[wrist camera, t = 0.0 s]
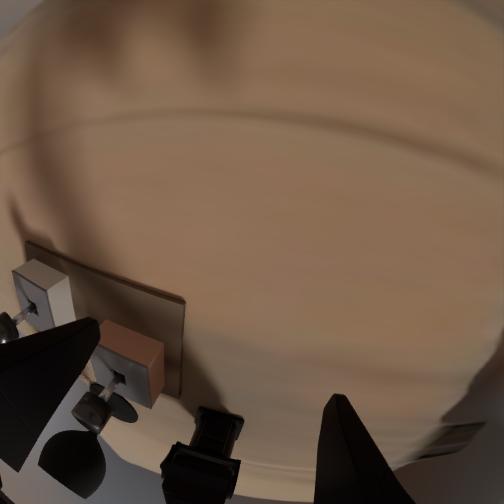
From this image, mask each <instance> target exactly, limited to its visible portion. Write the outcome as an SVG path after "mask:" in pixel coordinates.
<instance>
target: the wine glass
mask: <svg viewBox="0 0 504 504" xmlns="http://www.w3.org/2000/svg"><path fill="white" fill-rule="evenodd" d="M104 388H105V387H104V386H102V385H100V384H92V385H91V386H90V392H92V393H94V394H96V395H97V396H99V395H100V394H101V392H102V391H103V390H104ZM106 403H107V404H108V405H109V406H110V407H111V408H112V410H113V415H112V416H113V417H115V418H117V419H119V420H122V421H124V422H128V423H134V422H136V421H137V419H138V415H137V413H136V411H135V409H134V408H133V407H132V405H131V404H130V403H129V402H128V401H126V400H125V399H124V398H123V397H122V396H120V395H119V394H117V393H115V392H113V393H112V394H111V396H110V397H109V399H108V400H107V401H106ZM38 465H39V466H40V467H41V468H42V469H43V470H44V471H46V472H47V473H48V474H49V475H51V476H52V477H53V478H54V479H56V480H58V481H59V482H60V483H61V484H63V485H64V486H65V487H67V488H68V489H70V490H71V491H73V492H74V493H76V494H77V495H79V496H81V497H82V498H84V499H86V498H88V497H89V496H90V495H92V494H93V493H94V492H95V491H96V490H97V489H98V487H99V486H100V484H101V483H102V481H103V479H104V476H105V472H106V462H105V457H104V454H103V451H102V449H101V446H100V444H99V442H98V440H97V434H96V433H94V432H92V431H90V430H89V431H77V430H68V431H62V432H59V433H57V434H55V435H54V436H52V437H51V438H50V439H49V440H48V441H47V443H46V444H45V446H44V447H43V450H42V452H41V455H40V458H39V462H38Z"/></svg>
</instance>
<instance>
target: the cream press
mask: <svg viewBox="0 0 504 504" xmlns="http://www.w3.org/2000/svg"><path fill="white" fill-rule="evenodd" d="M12 274H13V279H14V283H15V287H16V291H17V295H18V299H19V303H20V306H21V310H22V311H23V310H24V309H25V308H27V307H28V306H29V305H31V304H32V303H35V304H36V307H37V310H36V311H34V312H33V313H32V314H30V315H29V316H28V317H27V318H25V319H24V320H26V321H27V322H28V323H30V324H31V325H32V326H34V327H35V328H36V329H38V330H39V331H44V330H48V329H51V328H54V327H57V326H60V325H63V324H66V323H69V322H73V321H76V318H75V313H74V308H73V302H72V297H71V291H70V284H69V277H68V275H65V274H63V273H61V272H59V271H57V270H55V269H53V268H51V267H49V266H47V265H45V264H43V263H41V262H39V261H37V260H35V259H32V260H30V261H28V262H27V263H25V264H23V265H21V266H20V267H18V268H16V269H15V270H13V271H12Z"/></svg>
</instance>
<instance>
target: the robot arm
mask: <svg viewBox="0 0 504 504" xmlns="http://www.w3.org/2000/svg"><path fill="white" fill-rule="evenodd" d="M100 339H101V333H100V327H99V322H98V320H96V319H94V318H92V317H85V318H82V319H79V320H76V321H73V322H69V323H66V324H63V325H60V326H57V327H54V328H51V329H48V330H44V331H41V332H38V333H35V334H32V335H29V336H25V337H22V338H19V339H17V340H12V341H9V342H6V343H2V344H0V459H2V460H3V461H4V462H5V463H7V464H8V465H9V466H10V467H12V468H13V469H14V470H15V471H16V472H19V471H20V469H21V467H22V466H23V464H24V462H25V460H26V458H27V457H28V455H29V453H30V451H31V450H32V448H33V446H34V445H35V443H36V441H37V439H38V438H39V436H40V434H41V433H42V431H43V429H44V428H45V426H46V425H47V423H48V422H49V420H50V418H51V417H52V415H53V414H54V412H55V411H56V409H57V407H58V406H59V405H60V403H61V401H62V400H63V398H64V397H65V396H66V394H67V392H68V391H69V390H70V388H71V387H72V385H73V384H74V382H75V381H76V379H77V378H78V377H79V375H80V374H81V372H82V371H83V369H84V368H85V366H86V364H87V363H88V361H89V359H90V357H91V355H92V354H93V352H94V350H95V348H96V347H97V345H98V343H99V341H100ZM243 424H244V420H243V419H240V418H236V417H233V416H229V415H225V414H222V413H219V412H215V411H212V410H209V409H205V408H202V407H199V408H198V410H197V419H196V429H195V431H194V434H193V436H192V439H191V441H190V444H189V446H188V445H185V444H182V443H181V442H178V441H177V443H176V444H175V445H172V447H171V449H170V452H169V453H168V455H167V456H166V458H165V459H164V460H163V462H162V463H161V464H160V468H161V470H162V475H161V478H162V479H164V481H163V483H162V489H163V493H164V498H165V501H166V504H224V503H225V500H226V499H229V500H230V499H231V498H232V495H233V493H234V490H235V486H236V482H237V478H238V473H239V468H240V464H241V460H238V459H237V460H236V459H232V458H230V457H231V453H232V450H233V446H234V443H235V440H237V439H238V437H239V434H240V432H241V429H242V427H243ZM388 466H389V465H388V463H387V462H386V460H385V458H384V457H383V455H382V454H381V452H380V450H379V449H378V447H377V445H376V444H375V442H374V441H373V439H372V437H371V436H370V434H369V433H368V431H367V429H366V428H365V426H364V424H363V423H362V421H361V420H360V418H359V416H358V415H357V413H356V412H355V410H354V408H353V407H352V405H351V403H350V402H349V400H348V399H347V397H346V396H345V395H343V394H333V395H332V397H331V398H330V400H329V401H328V403H327V404H326V406H325V407H324V410H323V416H322V423H321V429H320V436H319V441H318V449H317V466H316V481H315V493H314V504H416V503H415V502H414V500H413V499H412V498H411V497H410V495H409V494H408V493H407V492H406V490H405V489H404V488H403V486H402V485H401V484H400V482H399V481H398V479H397V478H396V476H395V475H394V473H393V471H392V470H391V468H390V467H388ZM1 488H2V481H1V476H0V489H1ZM0 504H14V503H13V502H12V501H11V500H10V499H9V498H8V497H7V496H6V495H5V494H4V493H3V492H2V491H1V490H0Z"/></svg>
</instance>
